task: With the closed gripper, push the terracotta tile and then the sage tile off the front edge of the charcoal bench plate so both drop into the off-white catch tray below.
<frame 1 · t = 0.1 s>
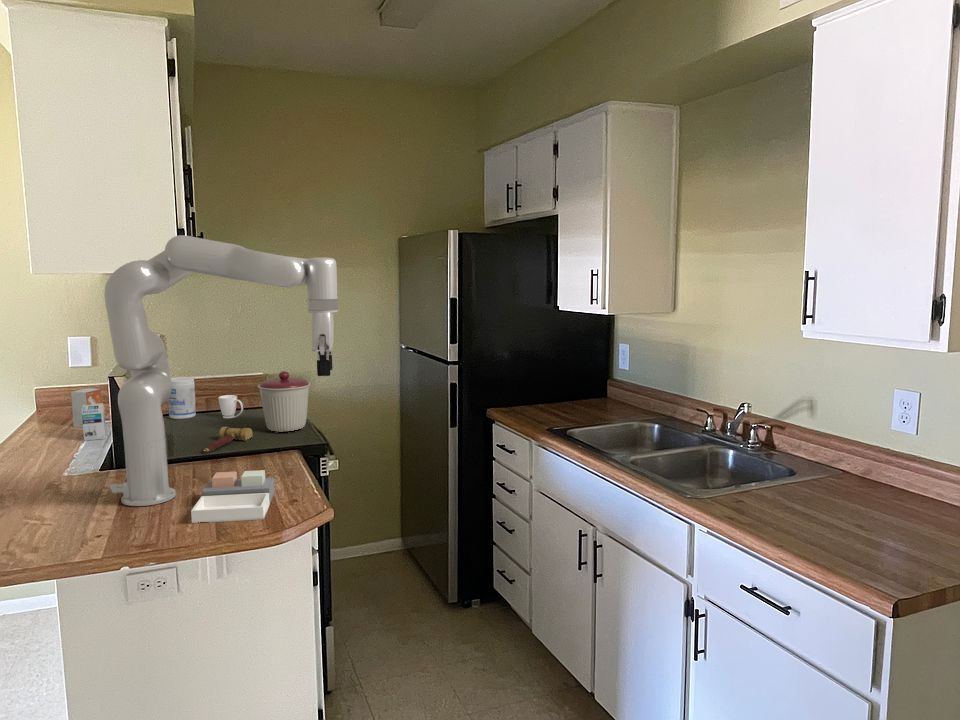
hand: (325, 372, 185), 31 cm above the counter, tool pointing down, fingers open, 9 cm apart
supplement tub: (183, 417, 278), on the counter
gavel: (222, 447, 235), on the counter
light bulb box: (95, 437, 248), on the counter
canister: (286, 430, 257), on the counter
catch tray: (232, 513, 172), on the counter
small box: (88, 425, 266), on the counter
tile b: (253, 483, 182), point 4 cm above the counter, touching bench plate
bench plate: (239, 499, 182), on the counter
cup: (232, 417, 277), on the counter
tile a: (224, 484, 181), point 4 cm above the counter, touching bench plate
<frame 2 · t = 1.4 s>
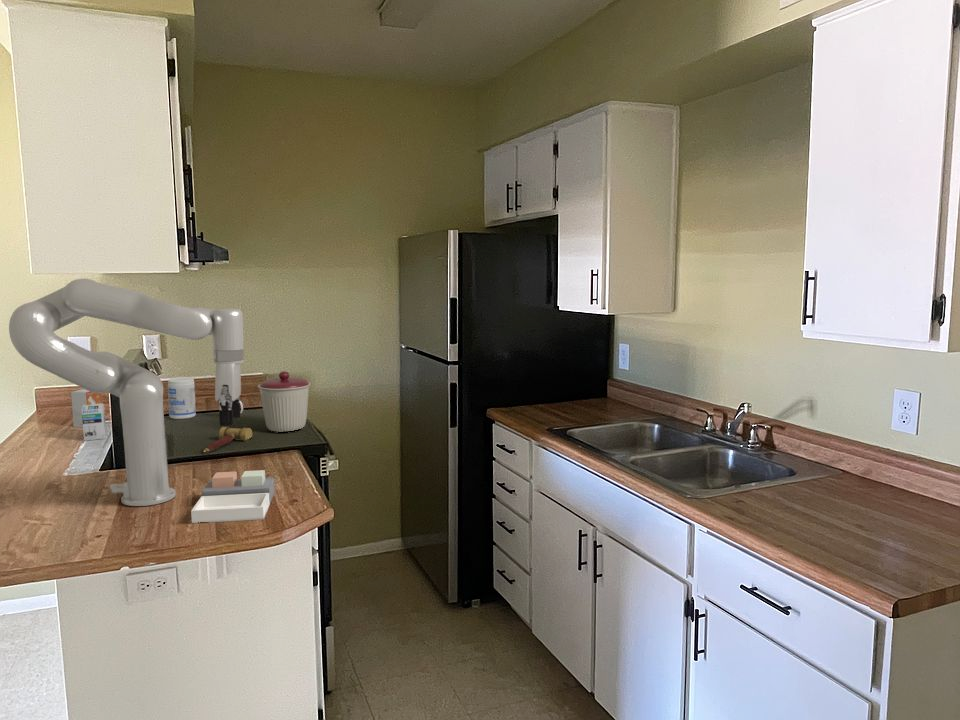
hand: (230, 421, 188), 18 cm above the counter, tool pointing down, fingers open, 9 cm apart
nothing on the counter moved.
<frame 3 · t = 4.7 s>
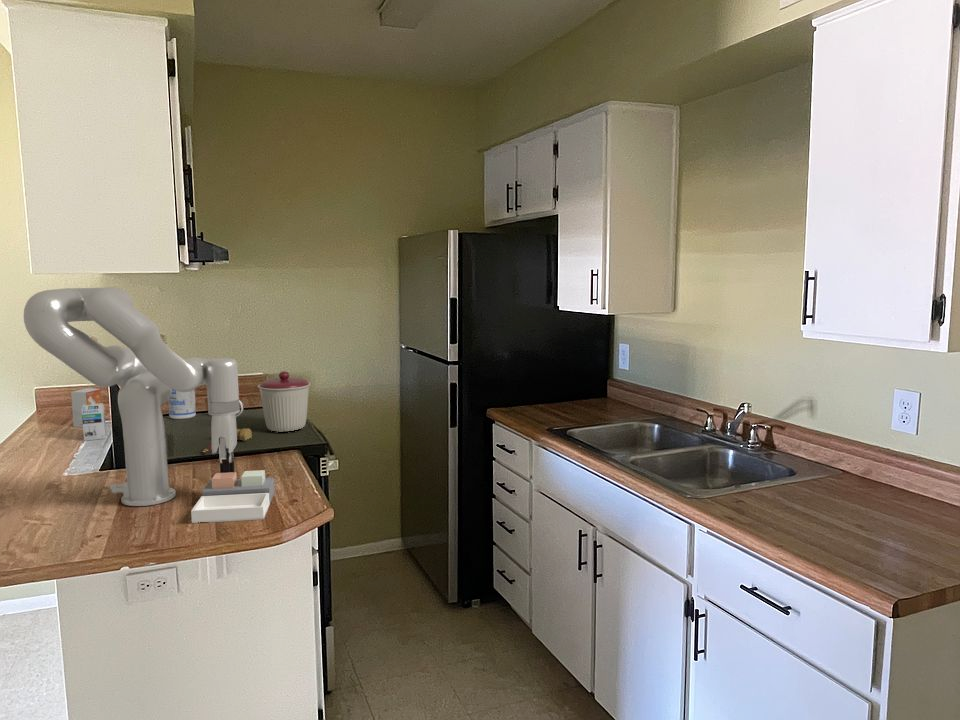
hand: (227, 476, 185), 5 cm above the counter, tool pointing down, fingers closed
tile a: (224, 485, 181), point 4 cm above the counter, touching gripper
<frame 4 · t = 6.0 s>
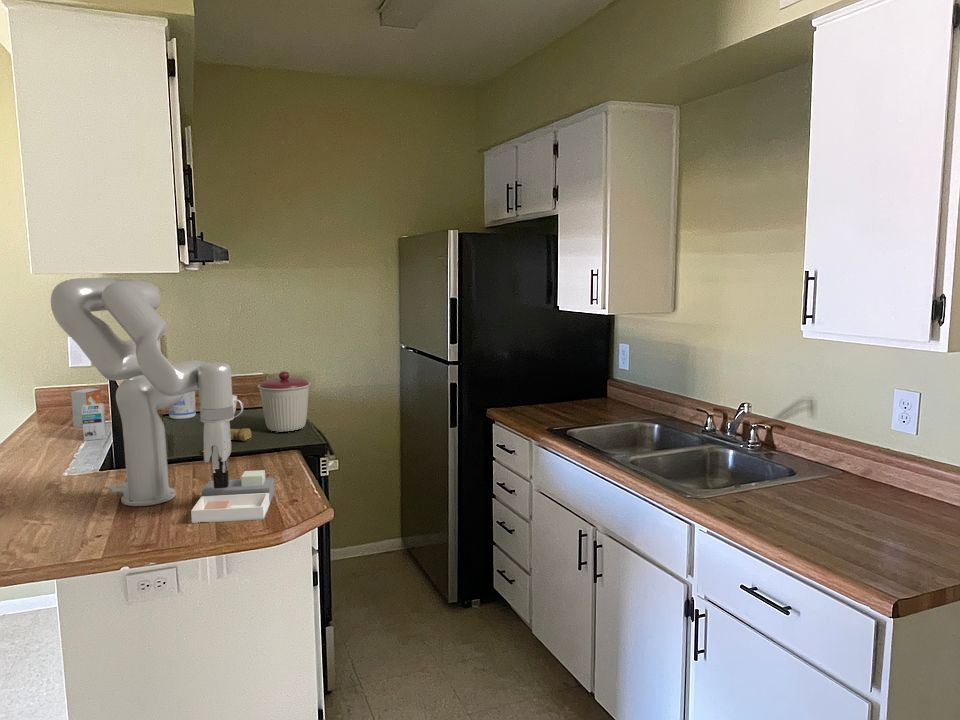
hand: (221, 487, 176), 5 cm above the counter, tool pointing down, fingers closed
tile a: (216, 504, 169), point 3 cm above the counter, tilted 180°, touching catch tray
everything else where it was.
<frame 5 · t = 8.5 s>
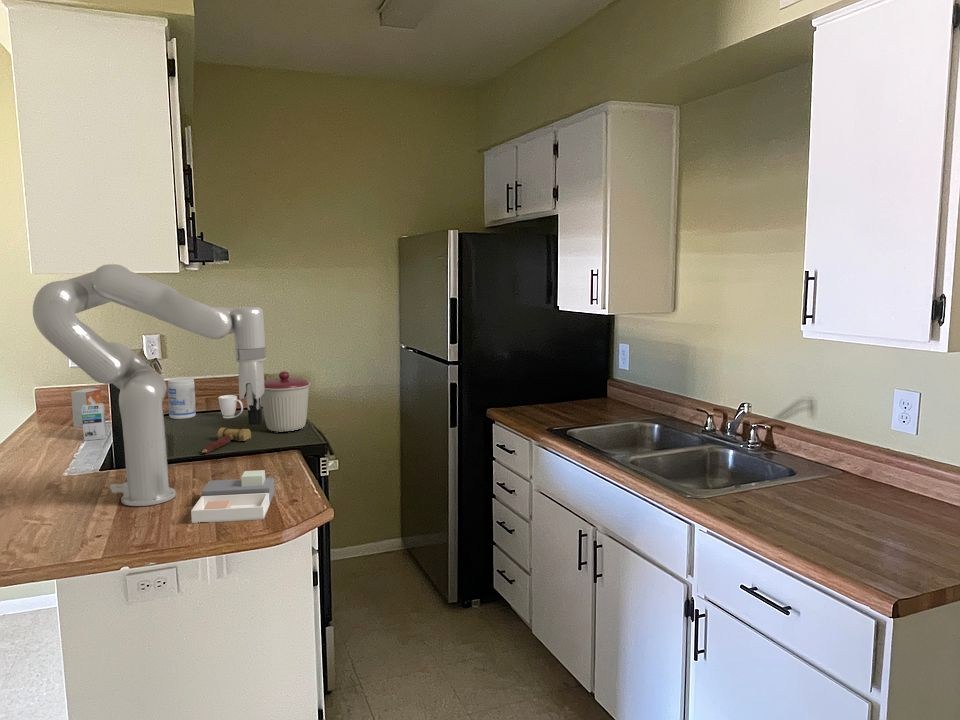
hand: (255, 424, 188), 18 cm above the counter, tool pointing down, fingers closed
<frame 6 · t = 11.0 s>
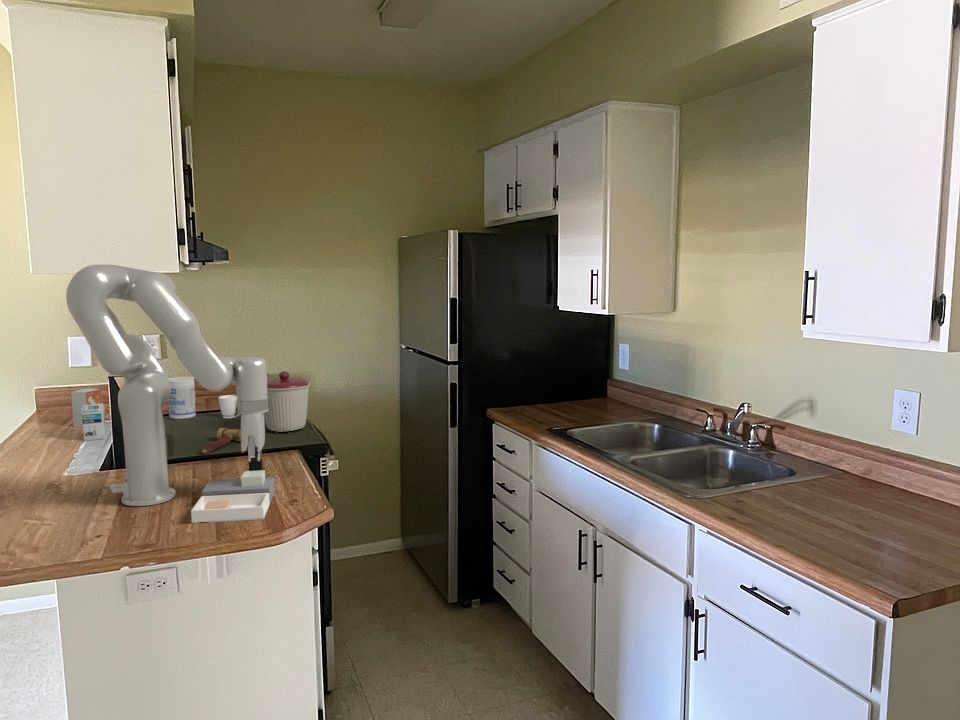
hand: (256, 475, 186), 5 cm above the counter, tool pointing down, fingers closed
tile b: (253, 483, 182), point 4 cm above the counter, touching bench plate, gripper
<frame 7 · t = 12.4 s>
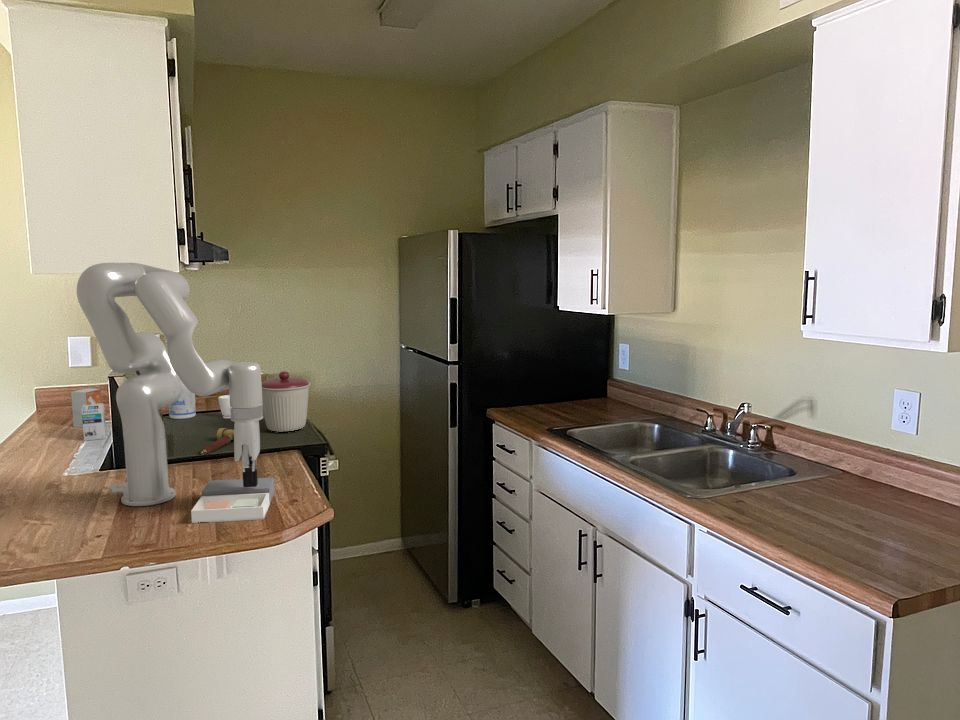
hand: (250, 485, 177), 5 cm above the counter, tool pointing down, fingers closed
tile b: (245, 502, 171), point 3 cm above the counter, tilted 180°, touching catch tray
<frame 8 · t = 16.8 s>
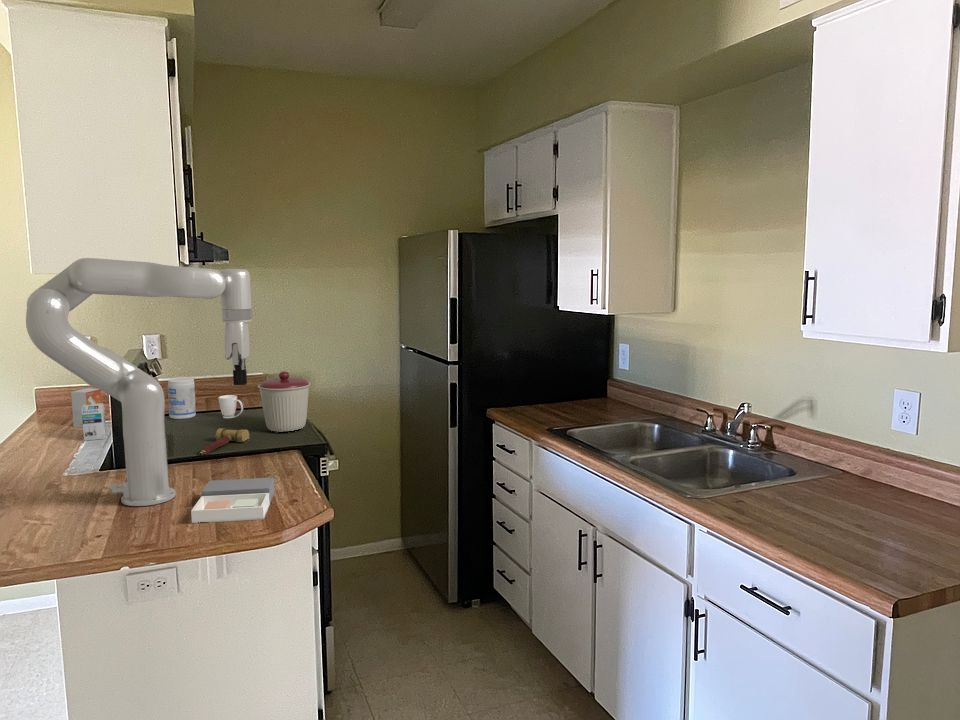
hand: (240, 384, 192), 27 cm above the counter, tool pointing down, fingers closed
at the end: tile a inside the target area (3.4 cm from its centre), point 2.9 cm above the counter; tile b inside the target area (3.5 cm from its centre), point 2.9 cm above the counter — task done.
